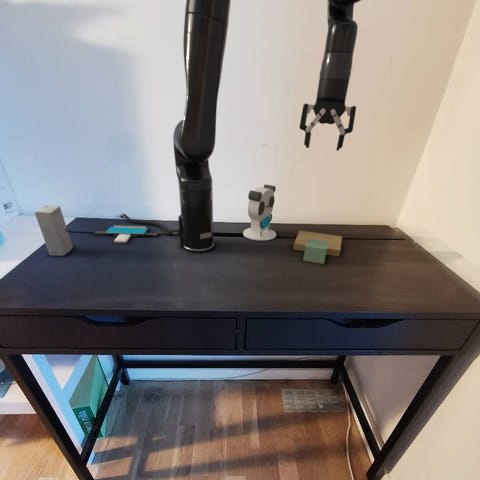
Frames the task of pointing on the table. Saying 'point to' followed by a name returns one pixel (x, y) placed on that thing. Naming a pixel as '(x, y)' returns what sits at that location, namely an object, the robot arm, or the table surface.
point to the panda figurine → (261, 213)
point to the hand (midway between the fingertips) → (322, 148)
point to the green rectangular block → (315, 251)
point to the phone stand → (126, 232)
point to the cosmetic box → (54, 230)
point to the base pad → (332, 240)
